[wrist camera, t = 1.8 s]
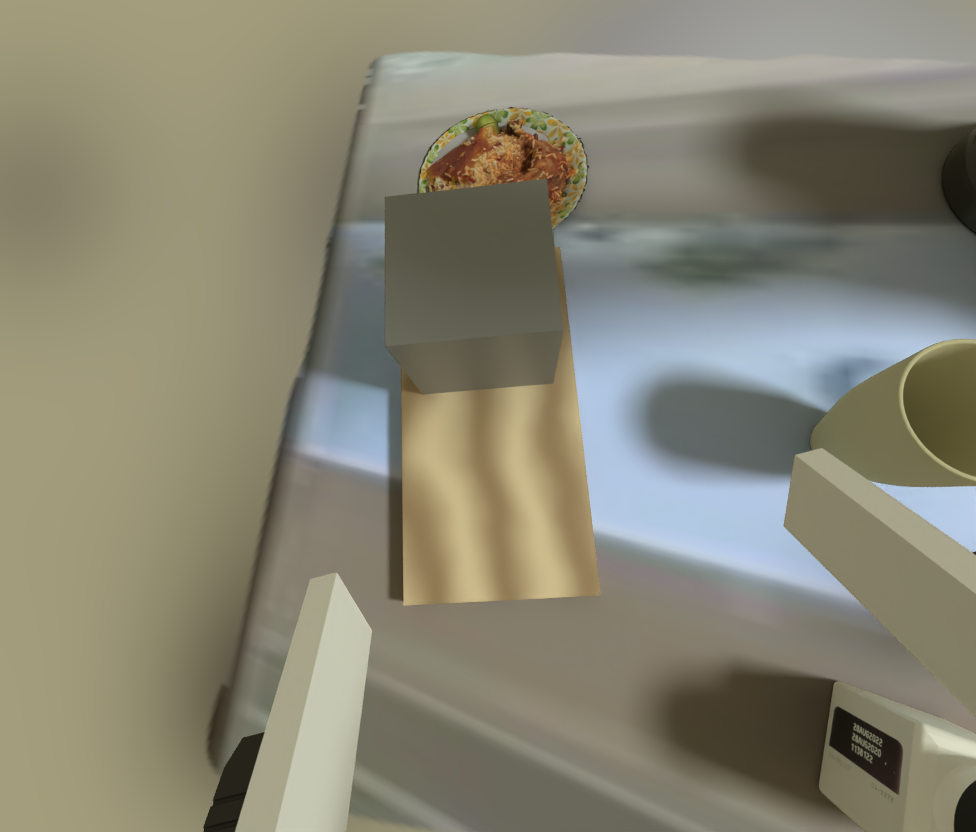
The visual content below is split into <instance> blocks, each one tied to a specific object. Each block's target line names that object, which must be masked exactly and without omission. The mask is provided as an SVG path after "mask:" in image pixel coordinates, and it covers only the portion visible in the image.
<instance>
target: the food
mask: <svg viewBox="0 0 976 832" xmlns="http://www.w3.org/2000/svg"><path fill="white" fill-rule="evenodd" d="M499 122H501V123H507V129H504V128H501V130H500V131H499V126H498V123H499ZM522 125H523V126H526V127H529V128H533V129H535V130H536V131H537V132H539V133H542V134H543V135H545V136H546V137H547V138H548V139H549V141H548V142H546V141H544V140H541V141H539V140H538V135H537V134H536V133H535V134H534V135H533V136H532V135H531V134H527V133H526V132H525V131H523V130H522V129H521V127H522ZM474 127H477V134H475V135H474V136H472V137H470V138H469V139H468V140H467V141H465V142H463V143H462V144H461V145H460V146H458V147H457V148H455V149H453V150H452V151H451V152H449V153H448V154H447V155H445V156H444V157H443V158H442V159H440V160H439V161H437V162H435V163H434V164H433V165H432V162H433V160H434V159H435V157H437V156H438V155H437V154H438V152H439V151H440V149H441V148H442V147H444V146H445V145H446V144H447V143H448V142H450V141H451V140H452V139H453V138H454V137H456V136H457V135H458V134H460V133H463V132H465V131H466V130H469V129H472V128H474ZM583 146H584V145H583V143H582V141H581V138H578V137H577V135H574V133H573V132H572V131H571V129H570V128H569V127H567V126H566V125H564V124H563V123H562V122H561V121H560V120H558V119H555V118H554V117H553V116H550V115H549V114H547V113H544V112H537V111H534V110H531V109H524V108H519V109H518V108H513V107H510V108H507V109H503V110H497V109H496V110H493V111H486V112H484V113H479V114H476V115H475V116H472V117H469V118H467V119H465V120H462V121H461V122H459V123H458V124H456V125H454V126H452V127H451V128H449V129H448V130H447V131H446V132H444V133H443V134H442V135H441V136H440V137H439V138H438V139H437V140H436V142H434V144H433V145H432V146H431V147H430V150H429V151H428V153H427V156H426V157H425V158H424V163H423V165H422V166H421V170H420V177H419V185H418V186H419V188H418V191H419V193H425V192H426V187H427V186H428V188H429V192H434V191H443V190H451V189H460V188H469V187H478V186H486V185H495V184H504V183H512V182H521V181H530V180H539V179H547V186H548V195H549V204H550V213H551V222H552V230H553V229H555V227H556V226H557V225H558V224H559V223H560V222H561V221H562V220H564V219H566V218H567V217H568V216H569V214H570V213H571V210H574V209H575V208H576V206H577V203H578V202H581V201H579V200H580V199H581V197H582V193H583V192H584V191H585V189H584V187H585V186H586V183H587V169H588V168H589V166H588V165H587V155H586V154H585V152H584V147H583Z"/></svg>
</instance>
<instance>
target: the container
mask: <svg viewBox="0 0 976 832" xmlns="http://www.w3.org/2000/svg"><path fill="white" fill-rule="evenodd" d="M819 789H820V791H821V792H822V794H823V795H825V796H826V797H827V798H828V799H829V800H830V801H831V802H832V803H833V804H835V805H836V806H837V807H838V808H839V809H840V810H841V811H842V812H843V813H845V814H846V815H847V816H848V817H849V818H850V819H851V820H852V821H853V822H855V823H856V824H857V825H858V826H859V827H860V828H861V829H862V830H863V831H865V832H976V734H975V733H972V732H970V731H968V730H966V729H964V728H962V727H959V726H957V725H955V724H953V723H951V722H949V721H946V720H944V719H942V718H939V717H936V716H934V715H931V714H928V713H925V712H923V711H920V710H917V709H914V708H912V707H909V706H906V705H903V704H901V703H898V702H895V701H892V700H890V699H887V698H884V697H881V696H878V695H876V694H873V693H870V692H867V691H865V690H862V689H859V688H856V687H854V686H851V685H848V684H845V683H843V682H835V683H834V685H833V692H832V699H831V706H830V712H829V719H828V726H827V733H826V739H825V746H824V753H823V760H822V767H821V773H820V780H819Z"/></svg>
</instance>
